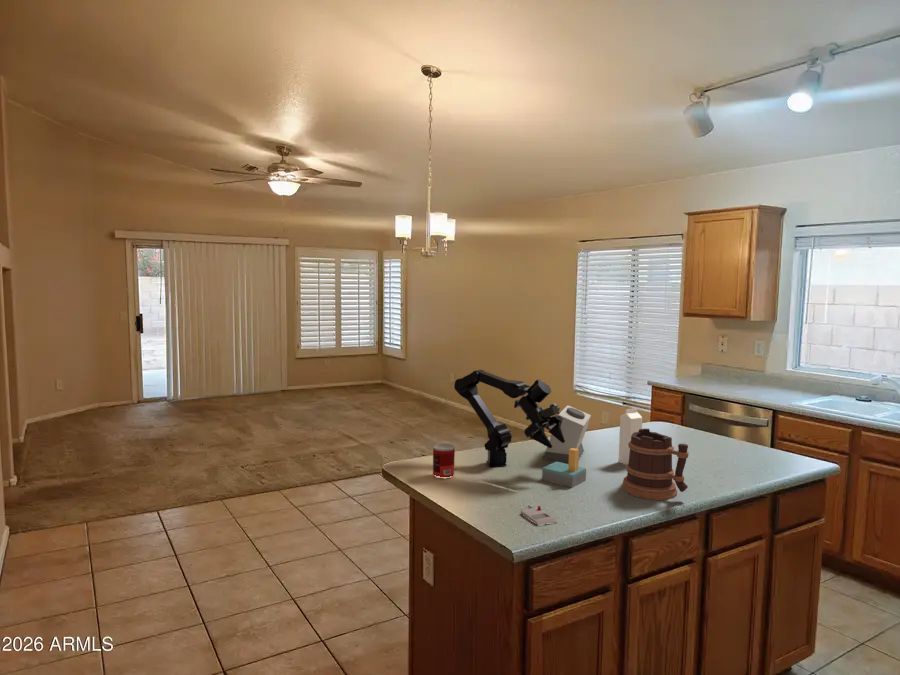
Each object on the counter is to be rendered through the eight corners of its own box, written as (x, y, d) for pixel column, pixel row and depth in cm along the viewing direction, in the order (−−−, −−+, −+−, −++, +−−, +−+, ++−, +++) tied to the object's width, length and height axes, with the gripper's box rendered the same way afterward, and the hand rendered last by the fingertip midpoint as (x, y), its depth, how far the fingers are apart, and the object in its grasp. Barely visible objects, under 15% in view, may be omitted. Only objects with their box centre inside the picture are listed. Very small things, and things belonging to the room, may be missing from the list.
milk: (618, 462, 230) (620, 407, 228) (629, 460, 232) (631, 406, 230) (629, 466, 224) (631, 410, 222) (640, 464, 227) (642, 409, 225)
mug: (671, 508, 182) (674, 446, 180) (610, 488, 199) (612, 431, 198) (700, 495, 194) (703, 437, 192) (640, 477, 211) (642, 424, 209)
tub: (542, 481, 205) (542, 470, 205) (556, 474, 213) (556, 464, 212) (572, 489, 197) (572, 477, 197) (585, 482, 205) (586, 471, 205)
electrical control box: (541, 531, 164) (542, 520, 164) (513, 511, 179) (514, 502, 178) (561, 527, 167) (561, 517, 167) (531, 508, 181) (532, 499, 181)
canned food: (457, 474, 211) (458, 445, 210) (448, 480, 204) (448, 450, 203) (438, 471, 215) (439, 442, 214) (429, 477, 207) (429, 447, 206)
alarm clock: (552, 447, 249) (554, 401, 247) (589, 452, 243) (591, 405, 241) (542, 460, 230) (543, 411, 228) (582, 465, 224) (584, 414, 222)
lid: (542, 473, 205) (543, 447, 204) (556, 466, 212) (557, 441, 212) (572, 480, 197) (573, 453, 196) (586, 473, 205) (587, 447, 204)
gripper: (532, 400, 201) (559, 437, 195) (558, 393, 215) (584, 427, 209) (513, 419, 206) (538, 455, 200) (540, 411, 221) (564, 444, 214)
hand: (557, 445), depth 206 cm, fingers open, 9 cm apart
